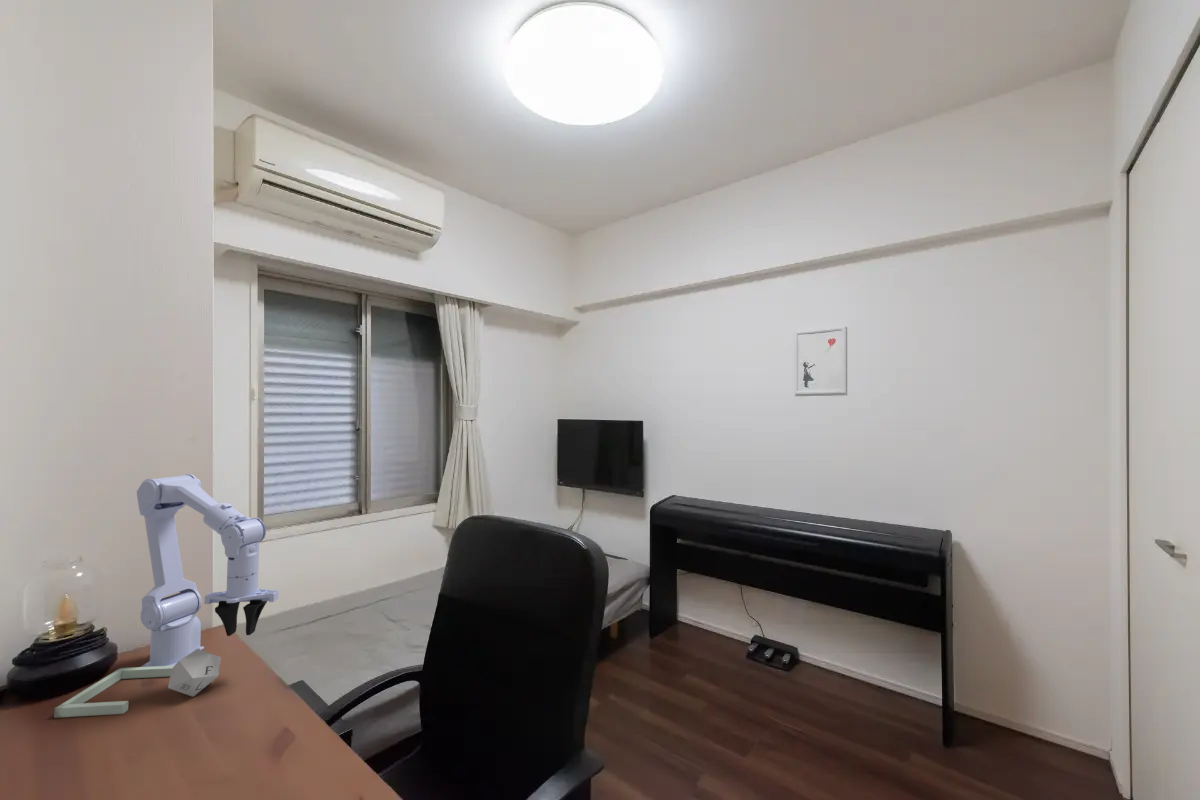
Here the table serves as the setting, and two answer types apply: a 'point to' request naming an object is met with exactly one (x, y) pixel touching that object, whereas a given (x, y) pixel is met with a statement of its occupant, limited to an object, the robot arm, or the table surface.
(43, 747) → the table surface
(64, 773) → the table surface
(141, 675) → the bay
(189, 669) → the die
